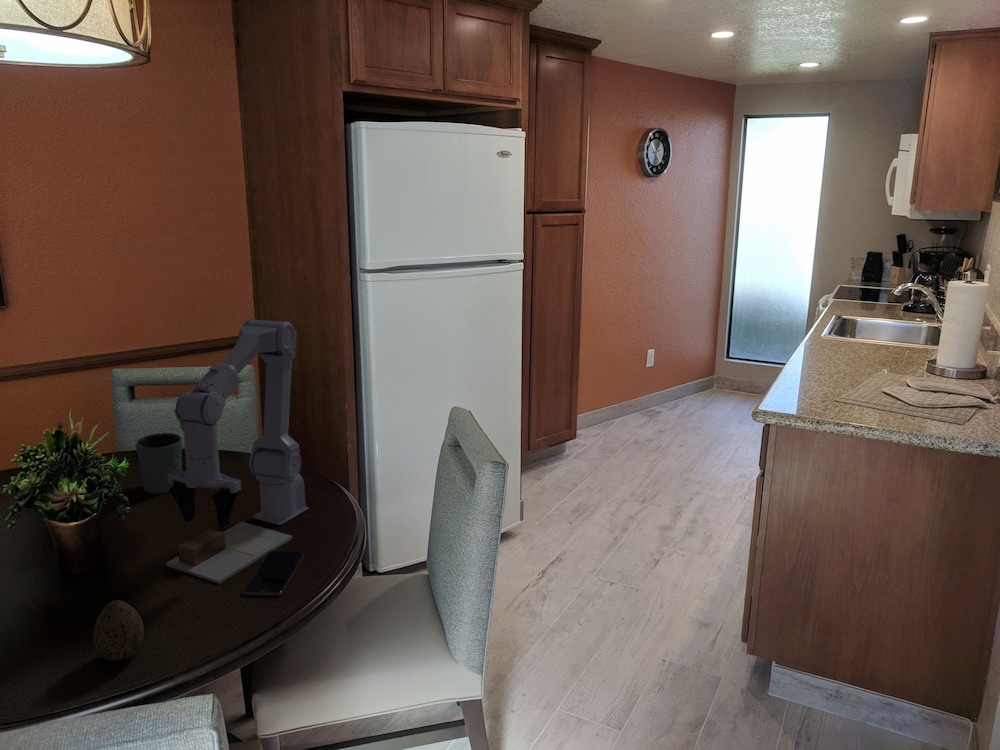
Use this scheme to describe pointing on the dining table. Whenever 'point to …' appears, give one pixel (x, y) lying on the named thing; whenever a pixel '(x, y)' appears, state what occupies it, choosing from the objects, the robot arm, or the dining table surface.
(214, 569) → the mat
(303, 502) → the robot arm
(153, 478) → the grey pot
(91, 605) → the dining table surface
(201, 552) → the brown block
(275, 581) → the smartphone
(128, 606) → the decorative egg
